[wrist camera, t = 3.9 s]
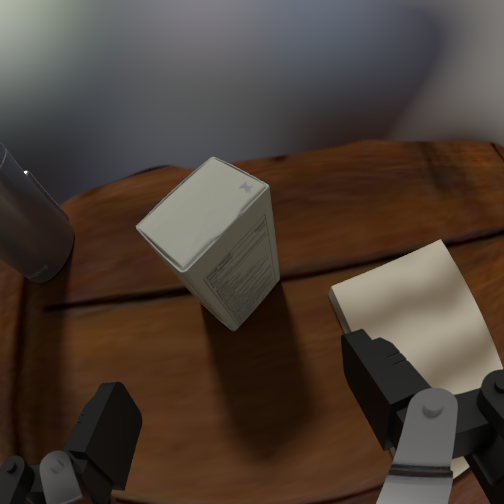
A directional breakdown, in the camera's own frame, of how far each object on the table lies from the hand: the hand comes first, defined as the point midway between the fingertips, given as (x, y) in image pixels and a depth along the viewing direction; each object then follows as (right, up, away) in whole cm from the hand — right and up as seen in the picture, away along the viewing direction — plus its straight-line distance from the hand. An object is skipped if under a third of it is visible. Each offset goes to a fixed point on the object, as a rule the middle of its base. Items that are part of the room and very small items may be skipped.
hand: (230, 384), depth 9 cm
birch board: (+16, -5, +10) cm, 19 cm away
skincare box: (0, +1, +16) cm, 16 cm away
